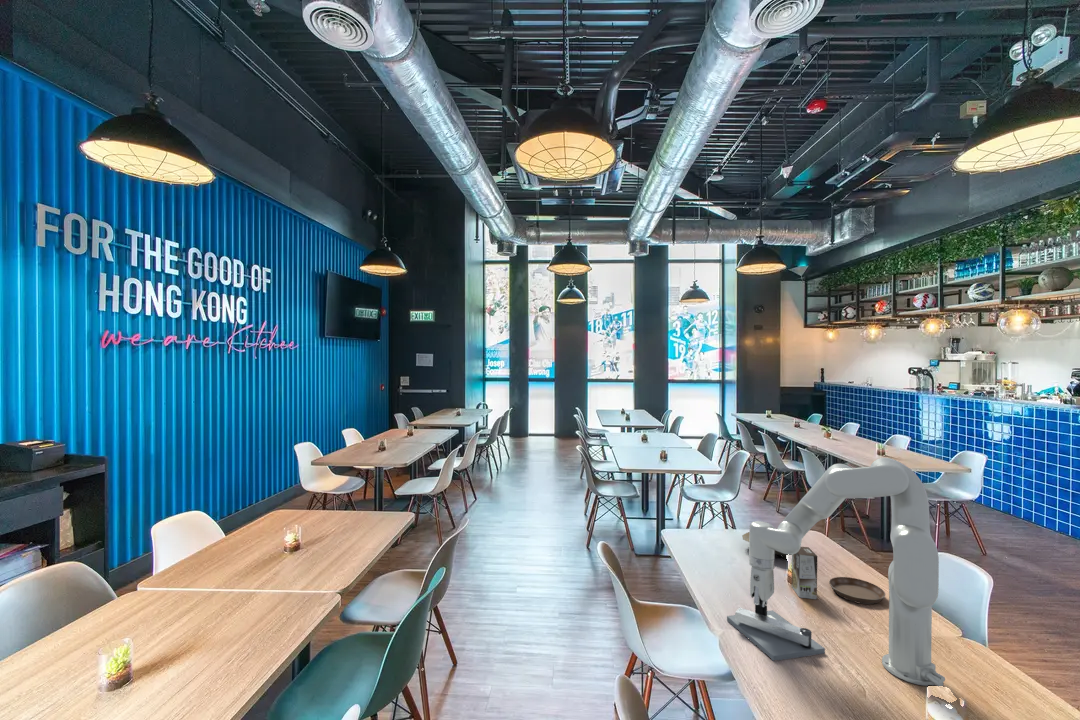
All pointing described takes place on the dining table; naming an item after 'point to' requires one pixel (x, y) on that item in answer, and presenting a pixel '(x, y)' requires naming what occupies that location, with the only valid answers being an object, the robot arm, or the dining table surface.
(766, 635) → the label board
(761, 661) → the dining table surface
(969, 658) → the dining table surface
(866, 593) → the plant saucer
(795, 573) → the coffee box
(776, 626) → the swing bar
